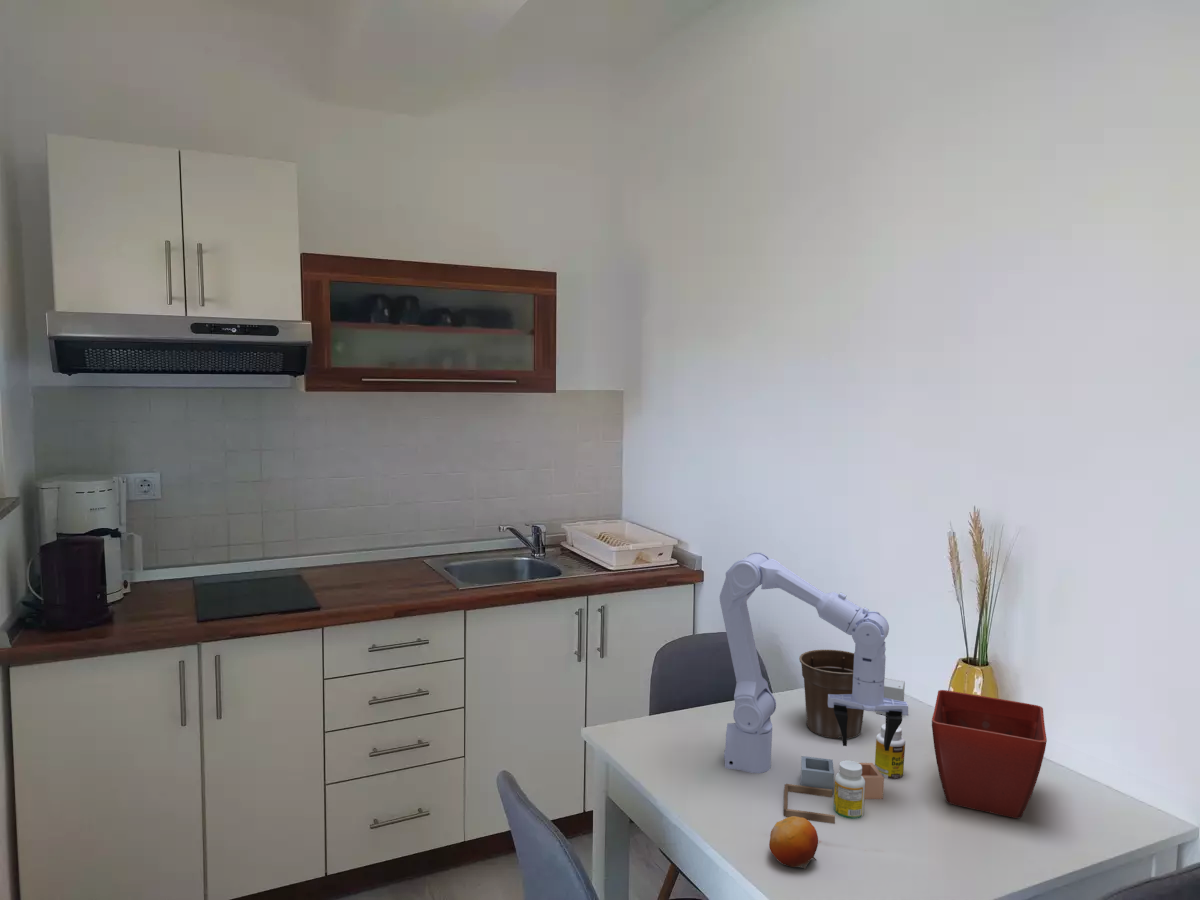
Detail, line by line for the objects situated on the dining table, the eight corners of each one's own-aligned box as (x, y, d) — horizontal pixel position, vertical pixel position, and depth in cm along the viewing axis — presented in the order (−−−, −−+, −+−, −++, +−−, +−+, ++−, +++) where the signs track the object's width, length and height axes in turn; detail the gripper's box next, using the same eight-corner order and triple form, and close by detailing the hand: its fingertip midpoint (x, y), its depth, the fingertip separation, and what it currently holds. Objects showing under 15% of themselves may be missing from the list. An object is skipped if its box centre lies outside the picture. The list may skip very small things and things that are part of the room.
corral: (783, 820, 150) (784, 810, 150) (784, 793, 160) (784, 783, 160) (834, 827, 148) (835, 816, 148) (831, 799, 158) (832, 789, 158)
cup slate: (800, 794, 160) (801, 769, 159) (800, 779, 165) (801, 755, 165) (832, 798, 158) (834, 773, 158) (831, 783, 164) (832, 759, 164)
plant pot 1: (785, 731, 188) (788, 662, 187) (811, 708, 202) (814, 644, 200) (856, 750, 179) (860, 678, 178) (878, 725, 192) (882, 658, 191)
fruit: (820, 874, 131) (797, 825, 133) (778, 884, 135) (756, 836, 137) (835, 850, 138) (812, 804, 140) (794, 860, 142) (773, 815, 144)
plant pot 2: (934, 765, 173) (938, 687, 171) (1037, 787, 165) (1042, 705, 163) (926, 807, 156) (931, 721, 154) (1040, 833, 147) (1047, 742, 146)
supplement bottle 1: (856, 826, 149) (858, 775, 148) (828, 815, 152) (830, 765, 151) (868, 814, 153) (870, 764, 152) (840, 804, 156) (843, 755, 155)
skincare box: (903, 709, 202) (905, 680, 202) (901, 718, 197) (903, 688, 196) (877, 705, 205) (879, 676, 204) (875, 714, 199) (876, 684, 199)
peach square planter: (851, 802, 157) (852, 777, 156) (841, 787, 163) (842, 762, 162) (882, 802, 157) (884, 777, 157) (871, 787, 163) (872, 762, 163)
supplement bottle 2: (891, 785, 164) (894, 735, 163) (868, 774, 169) (870, 725, 168) (909, 778, 167) (911, 729, 166) (886, 767, 172) (888, 719, 171)
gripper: (830, 681, 155) (827, 750, 156) (911, 688, 152) (908, 760, 153) (828, 668, 162) (825, 735, 163) (906, 675, 159) (903, 743, 160)
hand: (865, 746), depth 159 cm, fingers open, 7 cm apart
